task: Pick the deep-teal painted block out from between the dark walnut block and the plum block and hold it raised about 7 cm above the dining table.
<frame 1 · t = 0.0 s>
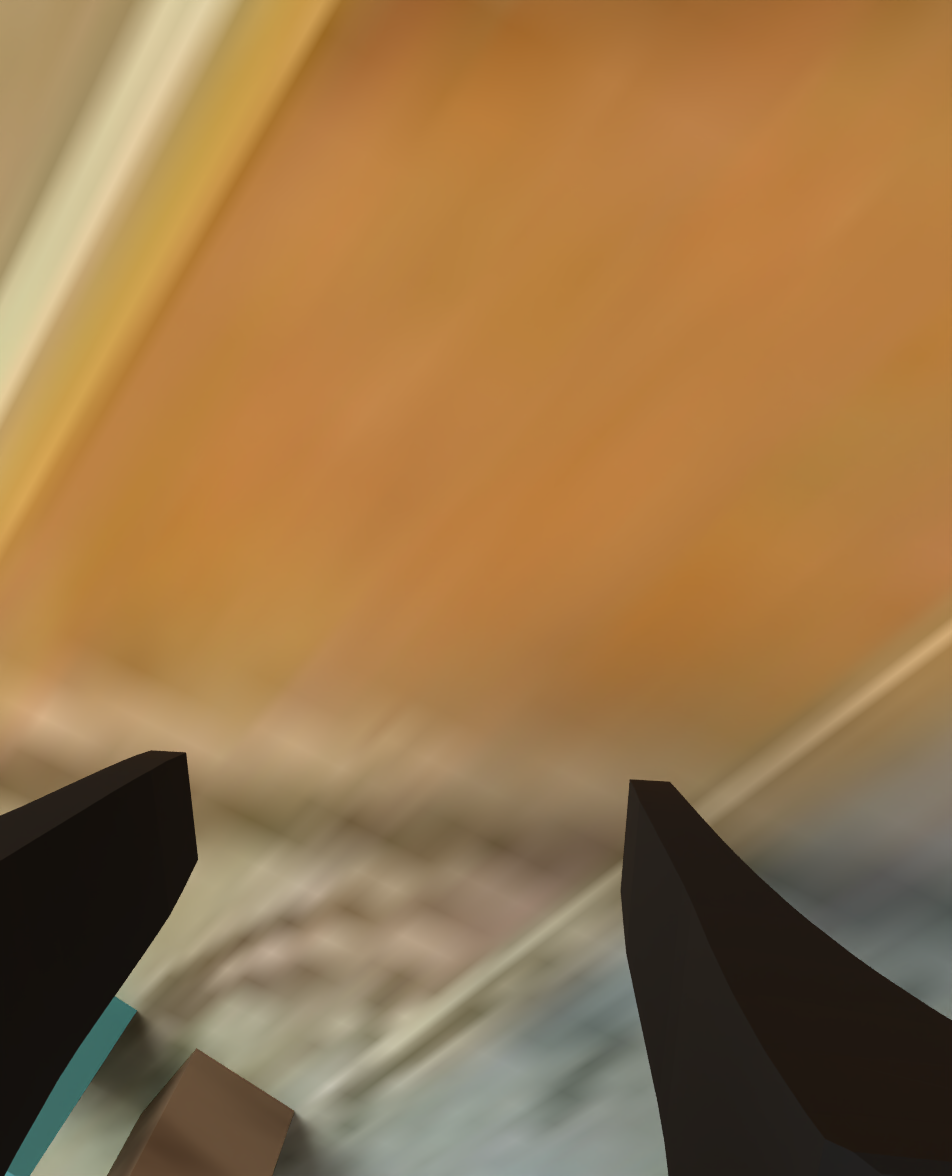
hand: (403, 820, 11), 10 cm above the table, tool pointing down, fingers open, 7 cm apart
walnut block: (217, 1111, 28), on the table
teal block: (60, 1012, 27), on the table
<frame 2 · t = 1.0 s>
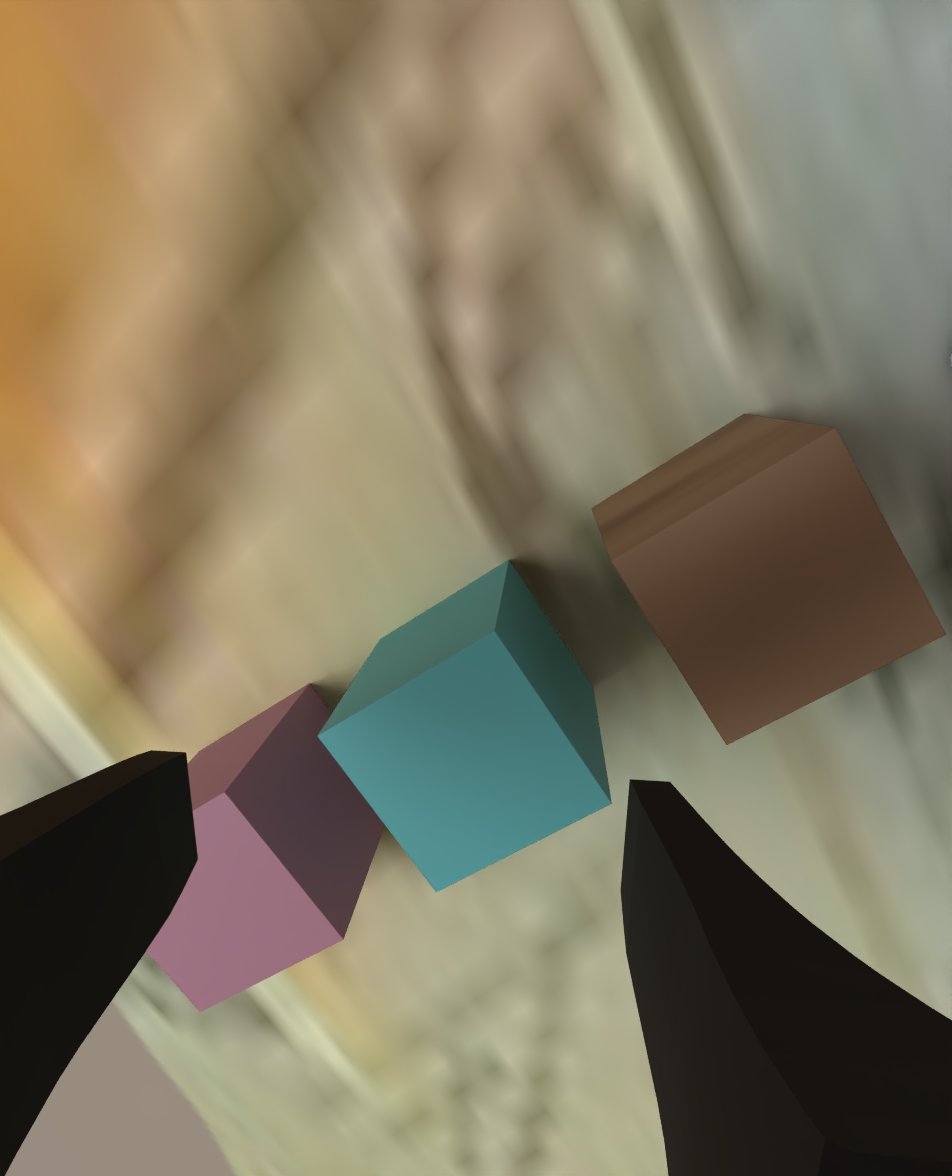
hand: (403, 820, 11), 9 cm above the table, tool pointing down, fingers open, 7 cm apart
walnut block: (707, 533, 19), on the table
plum block: (296, 773, 22), on the table
teal block: (486, 662, 21), on the table
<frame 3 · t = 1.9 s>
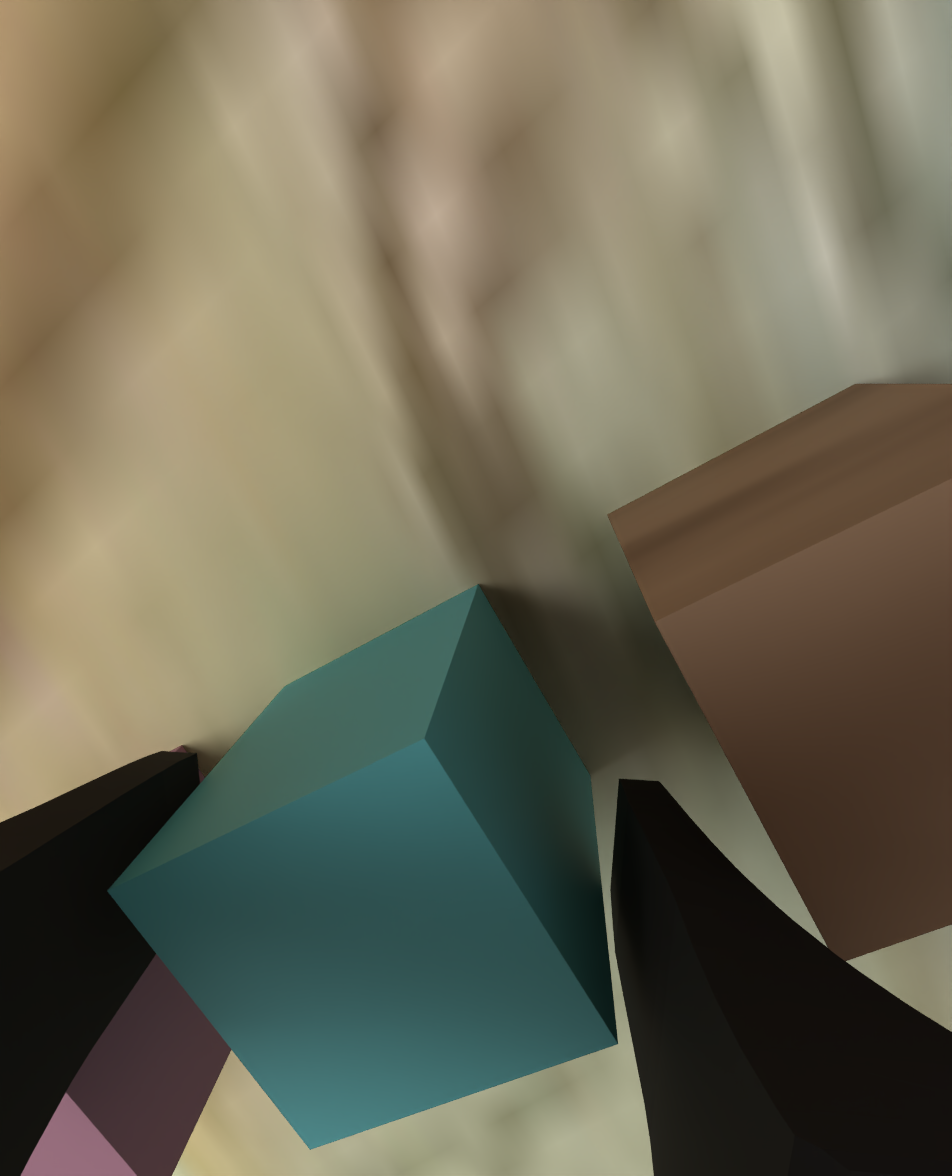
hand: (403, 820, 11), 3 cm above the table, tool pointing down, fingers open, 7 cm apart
walnut block: (779, 563, 13), on the table
plum block: (163, 863, 16), on the table, touching gripper
teal block: (437, 730, 14), on the table
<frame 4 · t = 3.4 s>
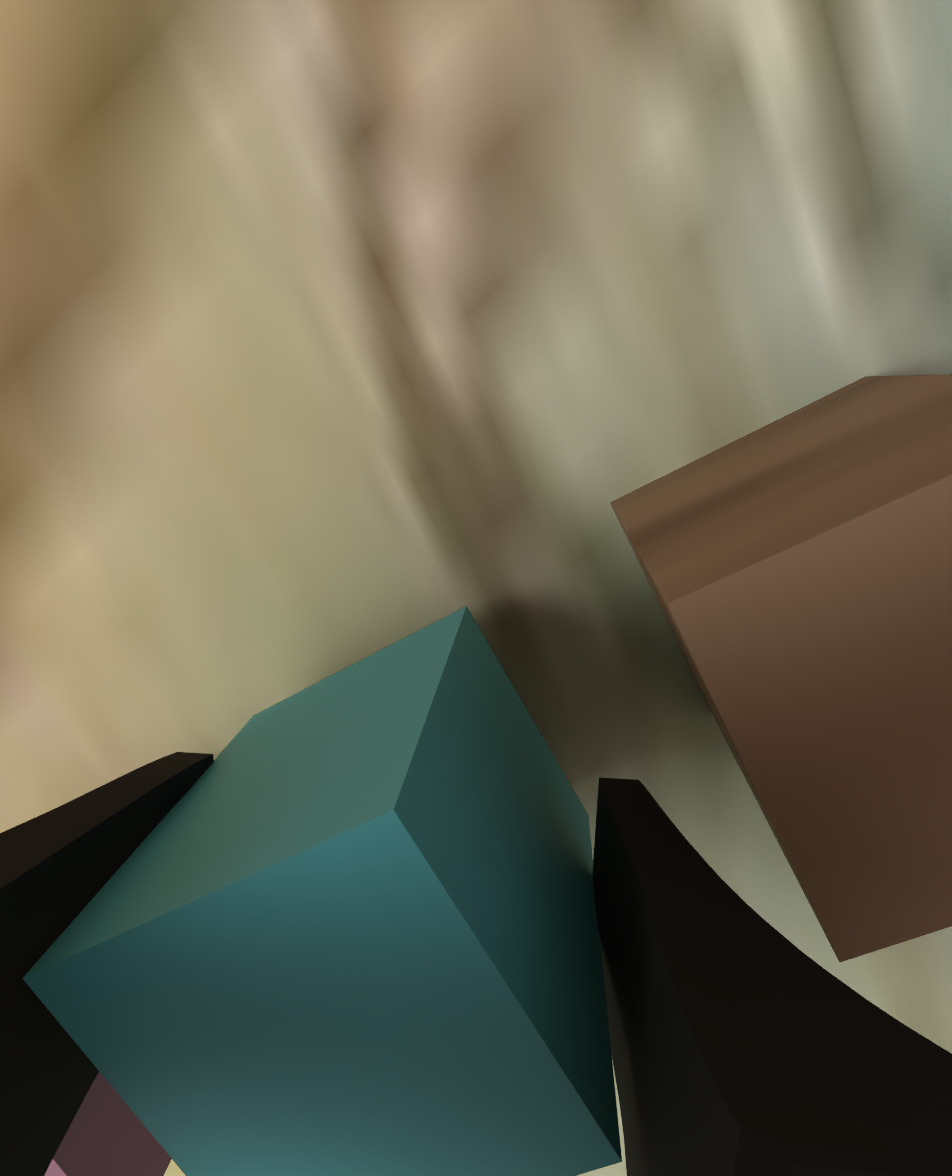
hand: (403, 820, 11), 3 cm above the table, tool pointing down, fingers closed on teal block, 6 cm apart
walnut block: (783, 557, 12), on the table
plum block: (143, 888, 16), on the table
teal block: (420, 765, 13), point 1 cm above the table, touching gripper
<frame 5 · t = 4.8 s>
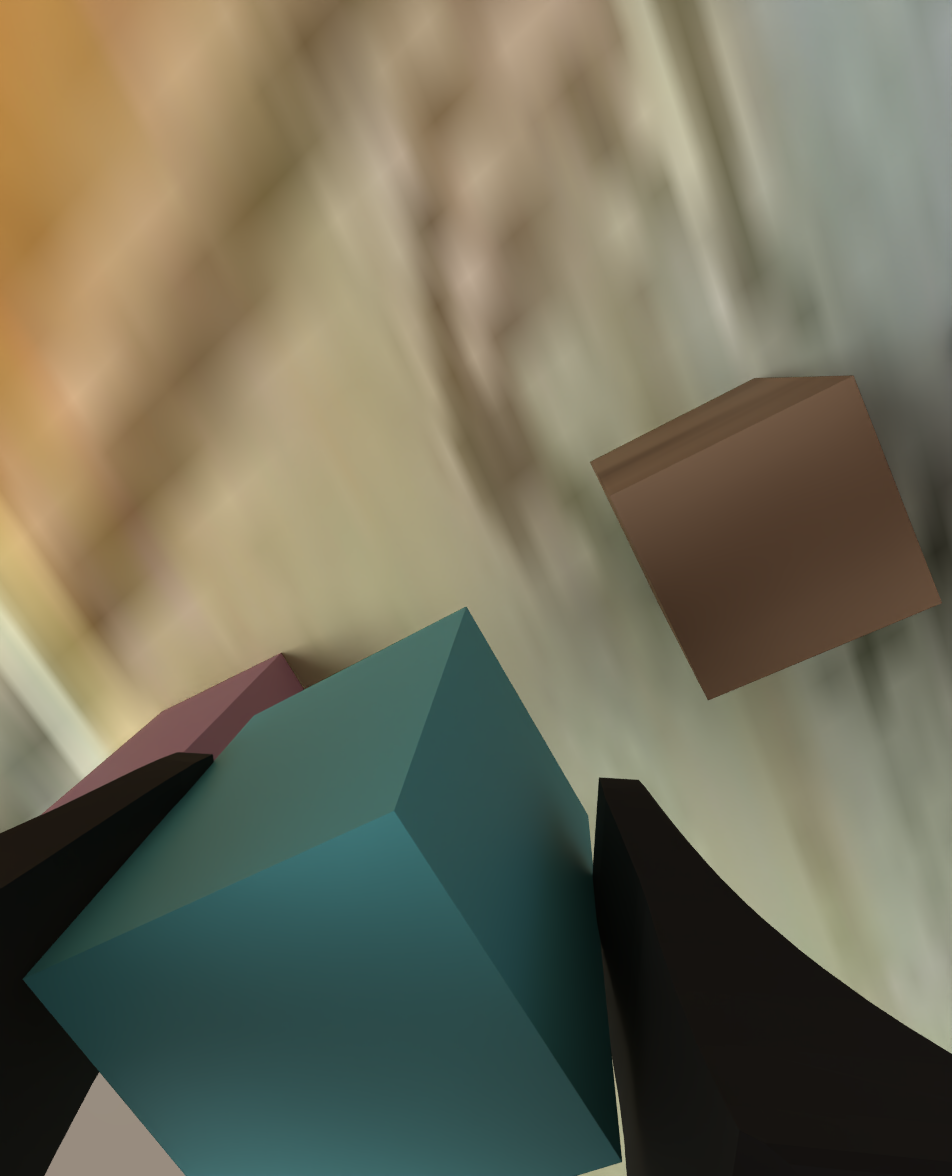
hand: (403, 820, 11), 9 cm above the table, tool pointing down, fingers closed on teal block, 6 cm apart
walnut block: (704, 498, 19), on the table
plum block: (259, 743, 22), on the table
teal block: (420, 765, 13), point 8 cm above the table, touching gripper
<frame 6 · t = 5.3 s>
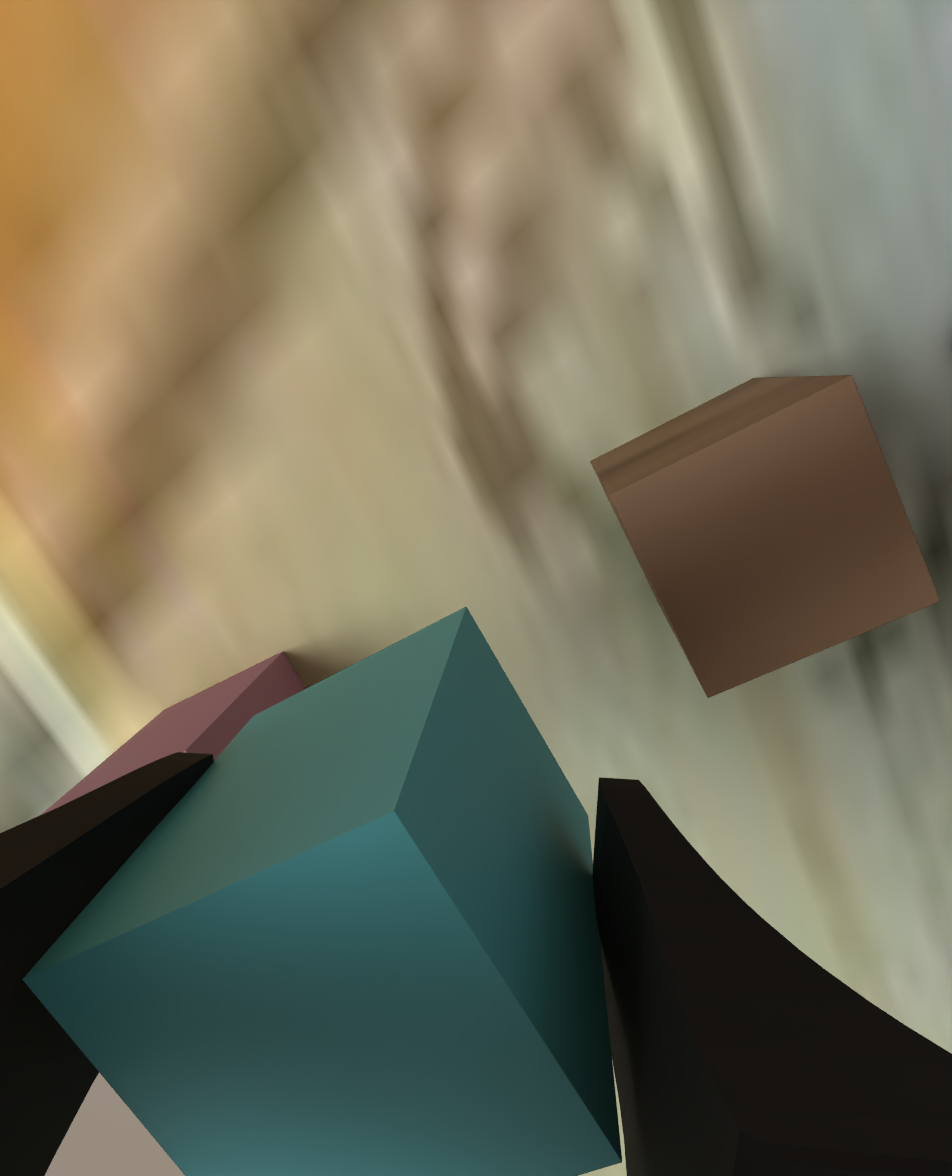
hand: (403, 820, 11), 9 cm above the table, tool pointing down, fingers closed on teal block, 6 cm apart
walnut block: (704, 497, 19), on the table
plum block: (261, 741, 22), on the table
teal block: (420, 765, 13), point 8 cm above the table, touching gripper
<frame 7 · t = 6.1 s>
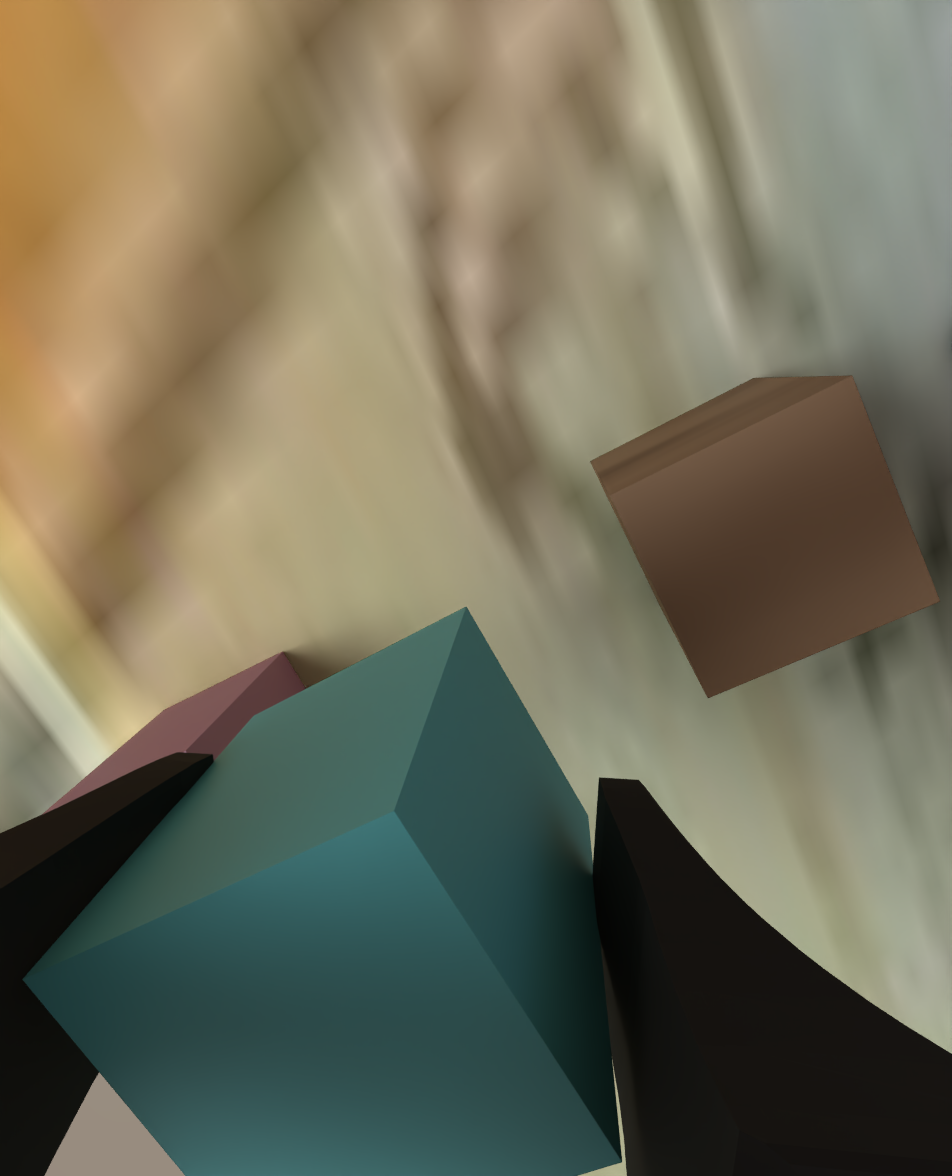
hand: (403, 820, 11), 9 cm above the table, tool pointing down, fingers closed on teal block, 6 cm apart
walnut block: (704, 497, 19), on the table
plum block: (261, 741, 22), on the table
teal block: (420, 765, 13), point 8 cm above the table, touching gripper
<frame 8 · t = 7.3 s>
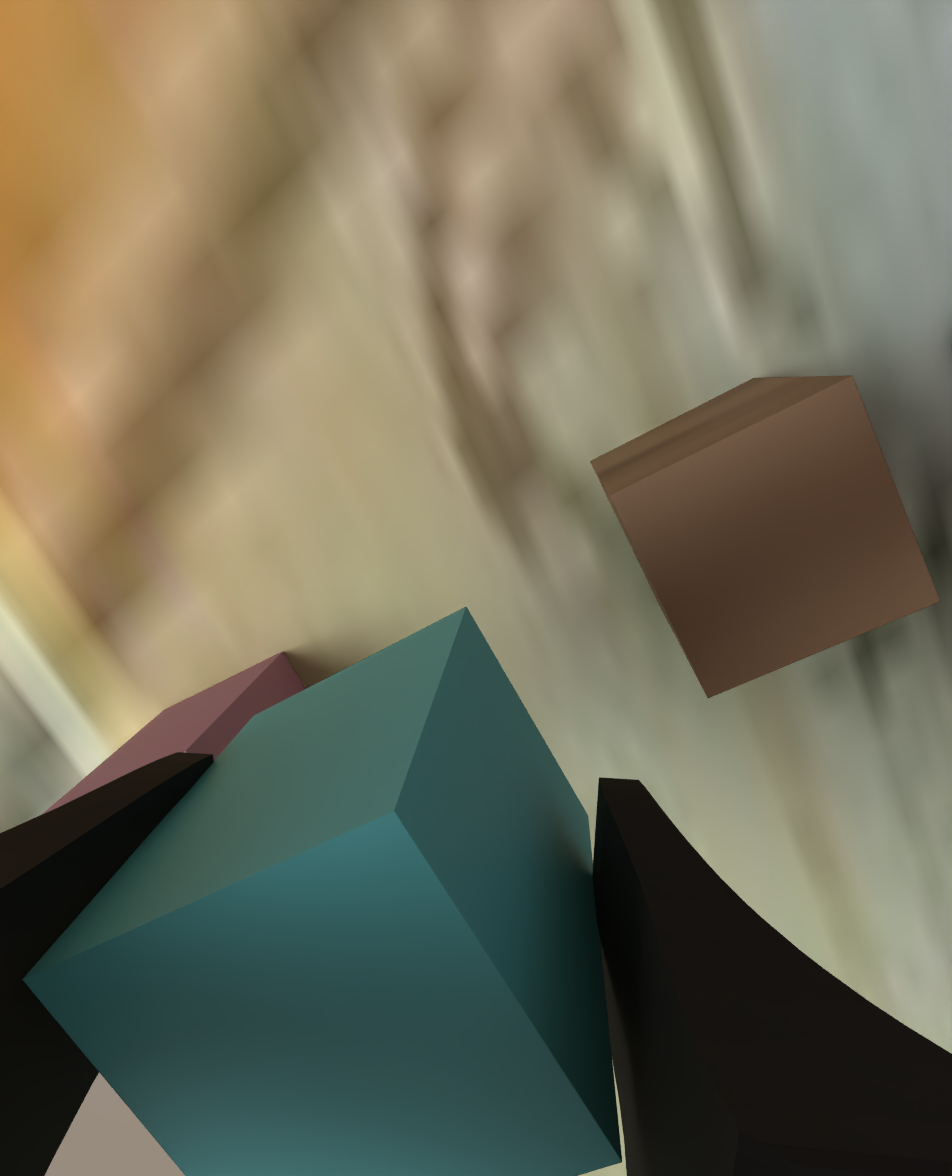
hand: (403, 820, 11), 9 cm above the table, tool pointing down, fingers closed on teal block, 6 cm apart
walnut block: (704, 497, 19), on the table
plum block: (261, 741, 22), on the table
teal block: (420, 765, 13), point 8 cm above the table, touching gripper
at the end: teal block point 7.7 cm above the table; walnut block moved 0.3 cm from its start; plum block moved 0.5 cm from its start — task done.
